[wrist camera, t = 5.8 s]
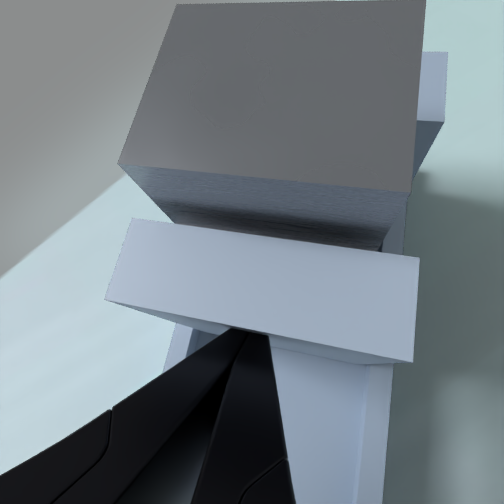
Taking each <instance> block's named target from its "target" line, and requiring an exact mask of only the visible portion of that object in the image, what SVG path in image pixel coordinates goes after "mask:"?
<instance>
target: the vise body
mask: <svg viewBox="0 0 504 504" xmlns="http://www.w3.org/2000/svg"><path fill="white" fill-rule="evenodd" d="M447 61H448V52H422V59H421V72H420V84H419V97H418V110H417V122H416V135H415V147H414V160H413V173H412V180H413V178H414V176H415V175H416V173H417V171H418V169H419V167H420V165H421V164H422V162H423V160H424V158H425V156H426V155H427V153H428V151H429V149H430V147H431V145H432V144H433V142H434V140H435V138H436V136H437V134H438V133H439V131H440V129H441V127H442V125H443V123H444V121H445V101H446V81H447ZM406 208H407V200H406V202H405V204H404V205H403V207H402V209H401V211H400V212H399V214H398V216H397V218H396V219H395V221H394V223H393V224H392V226H391V228H390V230H389V231H388V233H387V235H386V237H385V238H384V240H383V242H382V244H381V245H380V247H379V249H378V250H377V252H382V253H389V254H397V255H403V245H404V232H405V220H406ZM218 336H219V335H215V334H210V333H206V332H203V331H200V330H197V329H194V328H191V327H188V326H185V325H182V324H178V323H176V325H175V328H174V332H173V336H172V339H171V343H170V347H169V351H168V354H167V358H166V362H165V365H164V369H163V373H164V372H165V371H167V370H168V369H170V368H171V367H173V366H174V365H176V364H177V363H179V362H180V361H182V360H183V359H185V358H186V357H188V356H189V355H191V354H192V353H194V352H195V351H197V350H198V349H200V348H201V347H203V346H204V345H206V344H207V343H209V342H210V341H212V340H213V339H215V338H216V337H218ZM271 353H272V359H273V365H274V372H275V378H276V384H277V391H278V397H279V403H280V409H281V416H282V422H283V428H284V435H285V441H286V447H287V454H288V461H289V465H290V472H291V478H292V484H293V489H294V494H295V499H296V504H382V500H383V488H384V476H385V464H386V451H387V439H388V427H389V415H390V403H391V391H392V378H393V366H394V363H386V364H357V365H356V364H351V363H347V362H342V361H337V360H332V359H328V358H323V357H318V356H314V355H309V354H304V353H300V352H295V351H290V350H285V349H281V348H276V347H271Z"/></svg>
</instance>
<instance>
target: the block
mask: <svg viewBox="0 0 504 504" xmlns="http://www.w3.org/2000/svg"><path fill="white" fill-rule="evenodd" d="M425 9H426V0H369V1H321V2H272V3H271V2H270V3H225V4H223V3H222V4H221V3H220V4H177V5H176V8H175V10H174V13H173V16H172V19H171V21H170V24H169V26H168V29H167V32H166V34H165V37H164V40H163V42H162V45H161V48H160V51H159V53H158V56H157V59H156V61H155V64H154V67H153V70H152V72H151V75H150V77H149V81H148V83H147V85H146V88H145V91H144V93H143V96H142V99H141V101H140V104H139V107H138V109H137V113H136V115H135V118H134V120H133V123H132V126H131V128H130V131H129V134H128V136H127V139H126V142H125V144H124V147H123V150H122V153H121V155H120V158H119V160H118V163H117V164H118V165H119V166H120V167H121V168H122V169H123V170H124V171H125V172H126V173H127V174H128V175H129V176H130V177H131V178H132V179H133V180H134V181H135V183H136V184H137V185H138V186H139V187H140V188H141V189H142V190H143V191H144V192H145V193H146V194H147V195H148V196H149V197H150V198H151V199H152V200H153V201H154V202H155V203H156V204H157V206H158V207H159V208H160V209H161V210H162V211H163V212H164V213H165V214H166V215H167V216H168V217H169V218H170V219H171V220H172V221H173V222H174V223H175V224H180V225H187V226H195V227H202V228H209V229H216V230H223V231H231V232H238V233H245V234H252V235H260V236H267V237H274V238H281V239H288V240H296V241H303V242H310V243H317V244H324V245H332V246H339V247H346V248H353V249H360V250H368V251H375V252H377V250H378V249H379V247H380V245H381V244H382V242H383V240H384V238H385V237H386V235H387V233H388V231H389V230H390V228H391V226H392V224H393V223H394V221H395V219H396V218H397V216H398V214H399V212H400V211H401V209H402V207H403V205H404V204H405V202H406V200H407V199H408V197H409V195H410V193H411V185H412V173H413V160H414V147H415V135H416V122H417V110H418V97H419V84H420V72H421V59H422V47H423V34H424V21H425Z"/></svg>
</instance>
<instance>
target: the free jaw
mask: <svg viewBox="0 0 504 504" xmlns="http://www.w3.org/2000/svg"><path fill="white" fill-rule="evenodd" d="M419 263H420V258H418V257H411V256H404V255H397V254H389V253H382V252H375V251H368V250H360V249H353V248H346V247H339V246H332V245H324V244H317V243H310V242H303V241H296V240H288V239H281V238H274V237H267V236H260V235H252V234H245V233H238V232H231V231H223V230H216V229H209V228H202V227H195V226H187V225H180V224H173V223H166V222H159V221H151V220H144V219H137V218H132V219H131V222H130V225H129V228H128V231H127V234H126V237H125V239H124V242H123V245H122V248H121V251H120V254H119V257H118V260H117V263H116V266H115V269H114V272H113V275H112V278H111V281H110V284H109V286H108V289H107V292H106V295H105V298H104V300H107V301H110V302H113V303H116V304H119V305H123V306H126V307H129V308H132V309H135V310H138V311H141V312H144V313H147V314H151V315H154V316H157V317H160V318H163V319H166V320H169V321H172V322H175V323H178V324H182V325H185V326H188V327H191V328H194V329H197V330H200V331H203V332H206V333H210V334H215V335H221V334H222V333H224V332H225V331H227V330H228V329H230V328H234V329H239V330H244V331H248V332H253V333H258V334H263V335H268V336H269V340H270V346H271V347H276V348H281V349H285V350H290V351H295V352H300V353H304V354H309V355H314V356H318V357H323V358H328V359H332V360H337V361H342V362H347V363H351V364H356V365H357V364H386V363H413V353H414V338H415V323H416V308H417V293H418V278H419Z"/></svg>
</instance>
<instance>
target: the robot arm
mask: <svg viewBox="0 0 504 504" xmlns="http://www.w3.org/2000/svg"><path fill="white" fill-rule="evenodd" d="M0 504H296V499H295V494H294V489H293V484H292V478H291V472H290V465H289V461H288V454H287V447H286V441H285V435H284V428H283V422H282V416H281V409H280V403H279V397H278V391H277V384H276V378H275V372H274V365H273V359H272V353H271V346H270V340H269V336H268V335H263V334H258V333H253V332H248V331H244V330H239V329H234V328H230V329H228V330H227V331H225V332H224V333H222V334H221V335H219V336H218V337H216V338H215V339H213V340H212V341H210V342H209V343H207V344H206V345H204V346H203V347H201V348H200V349H198V350H197V351H195V352H194V353H192V354H191V355H189V356H188V357H186V358H185V359H183V360H182V361H180V362H179V363H177V364H176V365H174V366H173V367H171V368H170V369H168V370H167V371H165V372H164V373H162V374H161V375H159V376H158V377H156V378H155V379H153V380H152V381H150V382H149V383H147V384H146V385H145V386H143V387H142V388H140V389H139V390H137V391H136V392H134V393H133V394H131V395H130V396H128V397H127V398H125V399H124V400H122V401H121V402H119V403H118V404H116V405H115V406H113V407H112V410H110V409H109V410H107V411H105V412H104V413H102V414H101V415H100V416H98V417H97V418H95V419H94V420H92V421H91V422H89V423H87V424H86V425H84V426H83V427H81V428H80V429H78V430H76V431H75V432H73V433H72V434H70V435H69V436H67V437H66V438H64V439H62V440H61V441H59V442H57V443H56V444H54V445H52V446H50V447H49V448H47V449H45V450H44V451H42V452H40V453H39V454H37V455H35V456H33V457H32V458H30V459H28V460H27V461H25V462H23V463H21V464H19V465H18V466H16V467H14V468H12V469H11V470H9V471H7V472H5V473H4V474H2V475H0Z"/></svg>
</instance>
